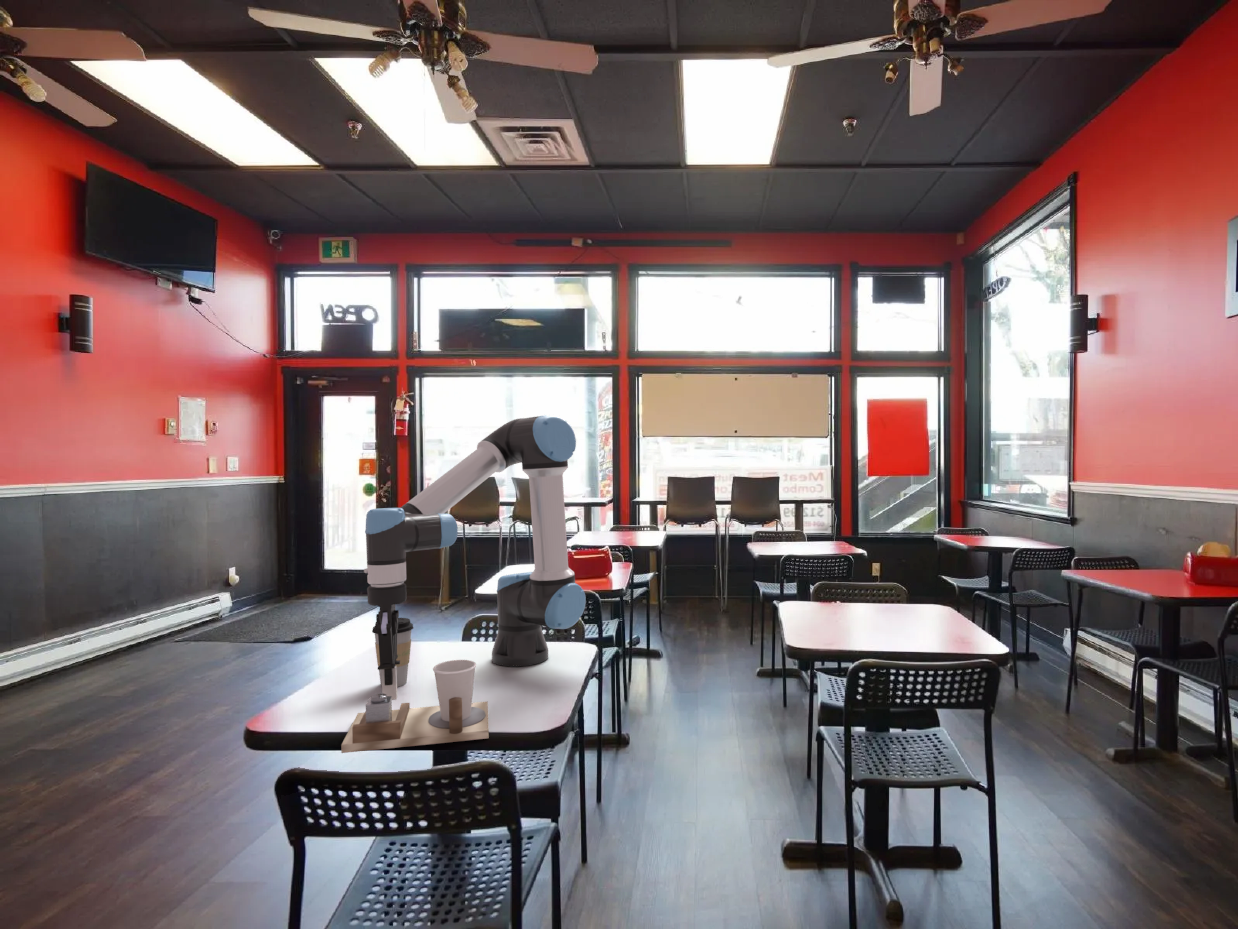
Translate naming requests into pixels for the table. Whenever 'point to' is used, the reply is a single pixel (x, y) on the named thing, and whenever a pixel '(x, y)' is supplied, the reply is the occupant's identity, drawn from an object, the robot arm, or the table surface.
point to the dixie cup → (455, 685)
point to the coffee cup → (399, 649)
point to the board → (418, 727)
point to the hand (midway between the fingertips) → (389, 699)
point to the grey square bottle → (379, 708)
